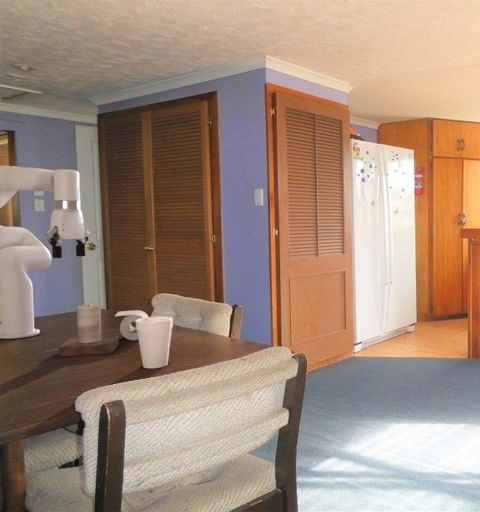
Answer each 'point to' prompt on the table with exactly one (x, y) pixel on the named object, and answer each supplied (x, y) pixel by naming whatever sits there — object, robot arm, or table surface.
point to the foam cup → (154, 340)
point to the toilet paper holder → (126, 326)
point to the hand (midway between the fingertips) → (69, 257)
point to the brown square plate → (88, 346)
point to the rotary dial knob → (89, 323)
